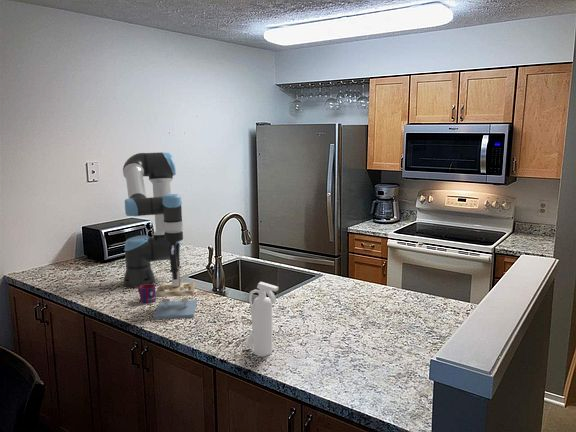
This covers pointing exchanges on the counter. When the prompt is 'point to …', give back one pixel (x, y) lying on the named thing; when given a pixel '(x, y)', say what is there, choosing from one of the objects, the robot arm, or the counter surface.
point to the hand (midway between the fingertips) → (176, 284)
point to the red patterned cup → (147, 293)
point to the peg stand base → (175, 289)
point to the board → (175, 309)
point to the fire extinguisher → (262, 319)
